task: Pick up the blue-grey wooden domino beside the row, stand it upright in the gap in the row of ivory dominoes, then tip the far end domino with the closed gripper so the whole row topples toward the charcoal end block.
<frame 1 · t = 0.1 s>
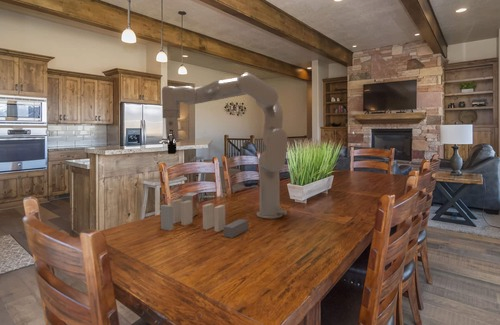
hand: (172, 153, 140), 31 cm above the table, tool pointing down, fingers open, 9 cm apart
tile 2: (186, 223, 138), on the table
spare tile: (167, 229, 130), on the table
small box: (191, 215, 152), on the table
tile 4: (208, 227, 132), on the table
end tile: (176, 221, 141), on the table
end block: (236, 232, 125), on the table
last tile: (220, 229, 129), on the table
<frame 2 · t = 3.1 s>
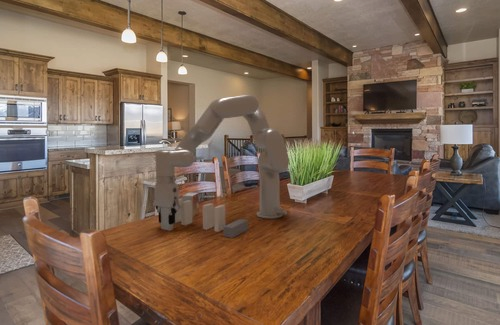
hand: (166, 222, 130), 3 cm above the table, tool pointing down, fingers closed on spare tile, 4 cm apart
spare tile: (167, 229, 130), on the table, touching gripper
everything else where it was.
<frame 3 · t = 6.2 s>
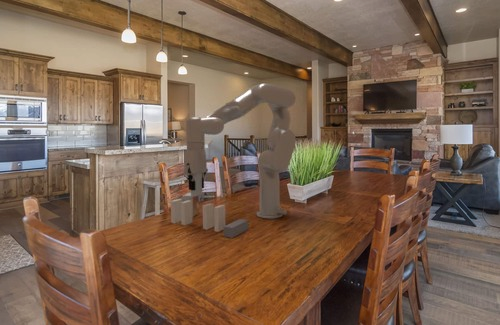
hand: (196, 188, 133), 16 cm above the table, tool pointing down, fingers closed on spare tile, 4 cm apart
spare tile: (196, 195, 133), point 13 cm above the table, touching gripper
everything else where it was.
when the fingers open (4 cm above the table, at t = 9.3 s): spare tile stays where it is, on the table.
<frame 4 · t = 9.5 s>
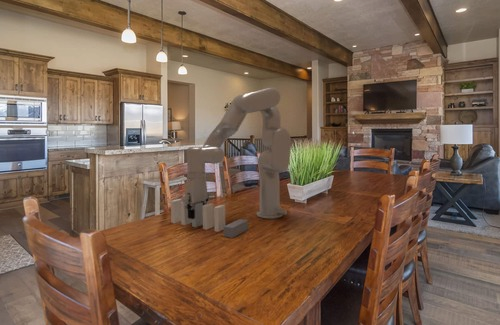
hand: (197, 215, 134), 4 cm above the table, tool pointing down, fingers open, 7 cm apart
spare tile: (197, 225, 135), on the table
everything else where it was.
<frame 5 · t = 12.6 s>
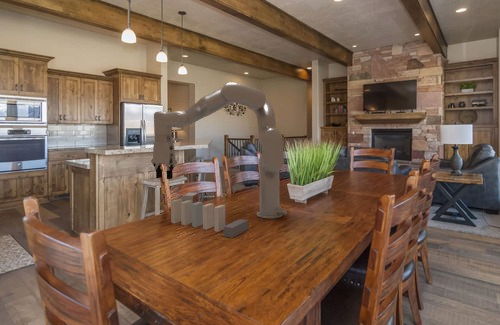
hand: (164, 178, 142), 20 cm above the table, tool pointing down, fingers open, 5 cm apart
nothing on the table moved.
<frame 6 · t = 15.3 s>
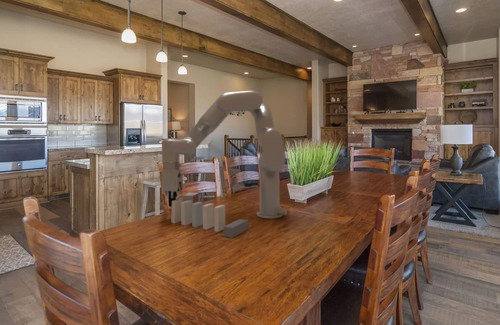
hand: (172, 206, 141), 7 cm above the table, tool pointing down, fingers closed
end tile: (176, 221, 141), on the table, touching gripper
everything else where it was.
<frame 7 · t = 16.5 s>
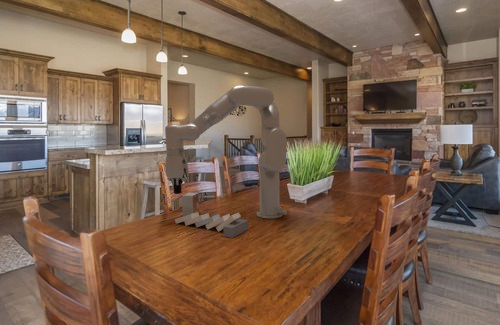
hand: (177, 193, 140), 13 cm above the table, tool pointing down, fingers closed
tile 2: (188, 222, 137), point 1 cm above the table, tilted 68°, touching end tile, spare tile
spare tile: (199, 223, 134), point 1 cm above the table, tilted 65°, touching tile 2, tile 4
tile 4: (210, 226, 131), point 1 cm above the table, tilted 60°, touching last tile, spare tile
end tile: (179, 220, 140), point 1 cm above the table, tilted 69°, touching tile 2
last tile: (220, 228, 128), point 1 cm above the table, tilted 51°, touching end block, tile 4
everything else where it was.
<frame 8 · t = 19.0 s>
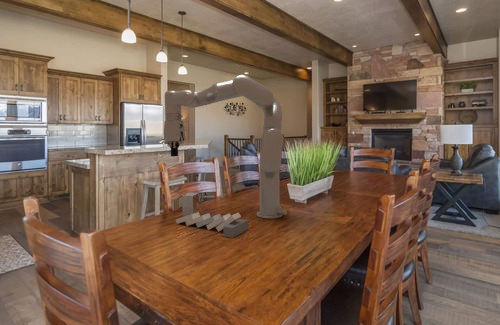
hand: (174, 156, 149), 29 cm above the table, tool pointing down, fingers closed
at the end: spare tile inside the target area (0.6 cm from its centre), point 0.9 cm above the table; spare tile tilted 64°; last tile tilted 52° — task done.
